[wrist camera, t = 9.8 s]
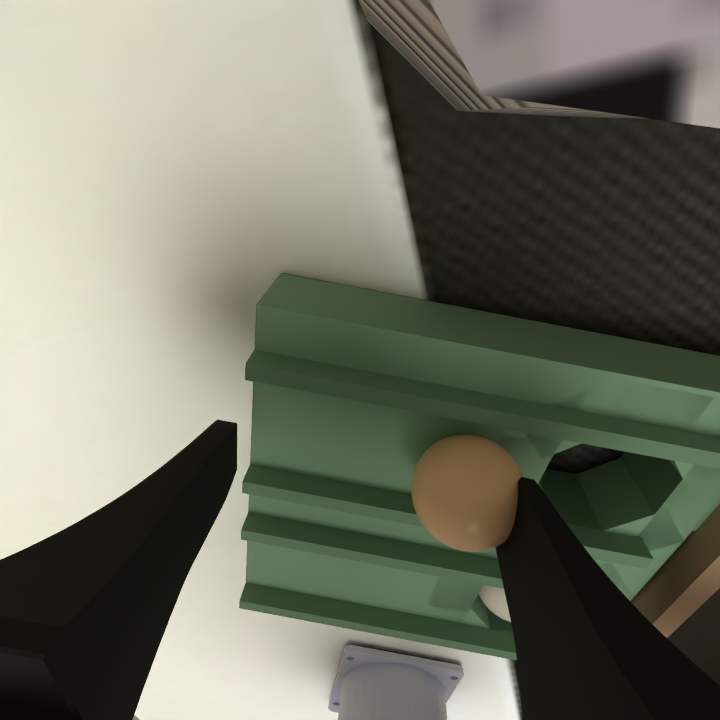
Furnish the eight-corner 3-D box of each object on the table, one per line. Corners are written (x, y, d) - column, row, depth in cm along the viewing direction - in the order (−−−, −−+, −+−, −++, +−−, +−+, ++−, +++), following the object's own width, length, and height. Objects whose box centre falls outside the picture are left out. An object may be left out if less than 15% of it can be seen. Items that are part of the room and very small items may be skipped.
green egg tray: (558, 610, 24) (582, 690, 21) (262, 554, 24) (238, 625, 21) (743, 360, 16) (836, 428, 12) (281, 273, 15) (246, 317, 12)
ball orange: (387, 530, 14) (437, 461, 17) (486, 597, 13) (527, 511, 15) (393, 464, 12) (450, 396, 14) (514, 536, 11) (557, 446, 13)
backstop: (572, 613, 24) (601, 700, 21) (555, 609, 24) (581, 696, 21) (764, 364, 16) (873, 440, 12) (738, 359, 16) (839, 433, 12)
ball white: (528, 573, 23) (554, 642, 20) (461, 569, 23) (477, 637, 19) (545, 525, 21) (577, 591, 18) (474, 520, 21) (493, 586, 18)
